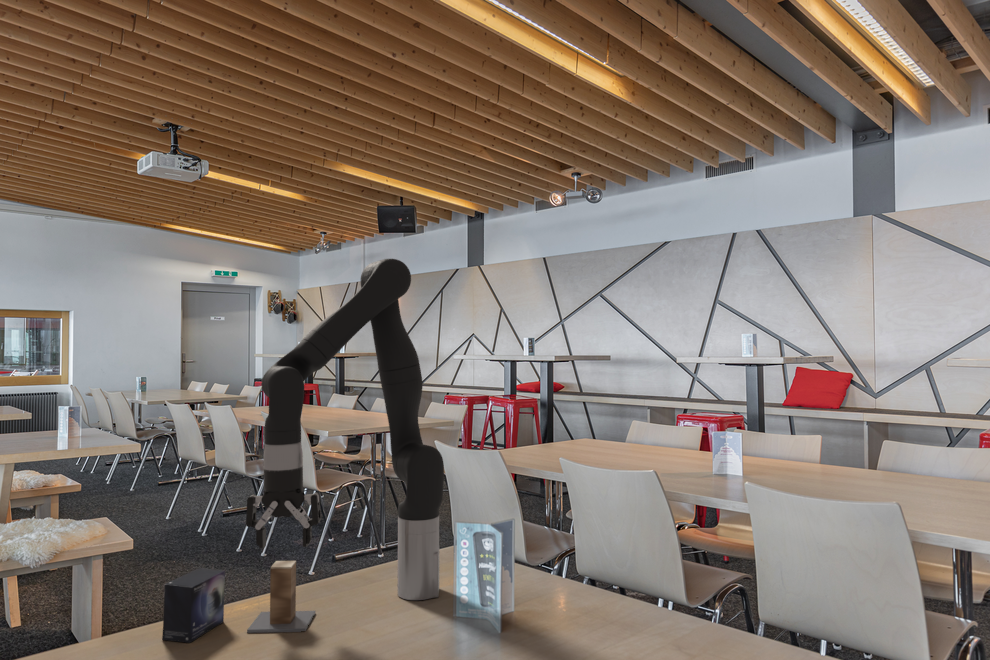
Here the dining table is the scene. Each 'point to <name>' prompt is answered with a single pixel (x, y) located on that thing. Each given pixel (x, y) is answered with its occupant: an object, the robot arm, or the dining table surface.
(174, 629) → the small box
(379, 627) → the dining table surface
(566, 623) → the dining table surface
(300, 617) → the slate pad
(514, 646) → the dining table surface
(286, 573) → the walnut block
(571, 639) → the dining table surface
